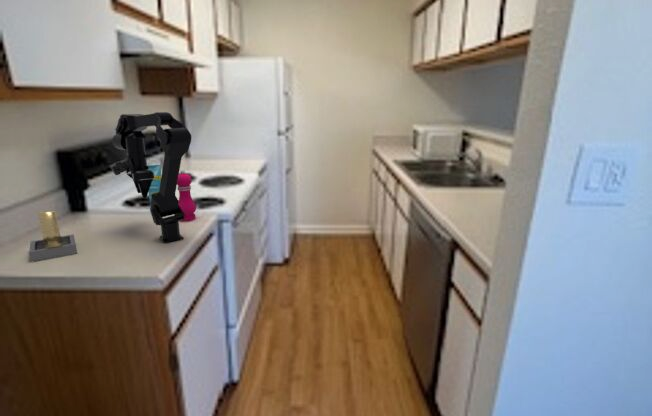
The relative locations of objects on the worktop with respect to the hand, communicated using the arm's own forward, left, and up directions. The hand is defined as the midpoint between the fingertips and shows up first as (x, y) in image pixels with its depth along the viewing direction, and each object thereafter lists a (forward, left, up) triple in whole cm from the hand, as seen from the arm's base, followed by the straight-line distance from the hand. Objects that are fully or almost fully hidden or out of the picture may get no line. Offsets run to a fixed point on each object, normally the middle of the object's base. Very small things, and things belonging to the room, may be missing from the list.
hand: (142, 195), depth 136 cm
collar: (-6, +28, -13) cm, 31 cm away
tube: (+30, -10, -13) cm, 34 cm away
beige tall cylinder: (-6, +28, -13) cm, 31 cm away
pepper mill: (+5, -16, -13) cm, 21 cm away
